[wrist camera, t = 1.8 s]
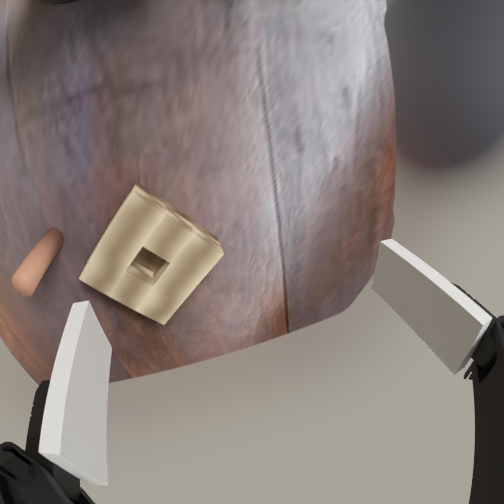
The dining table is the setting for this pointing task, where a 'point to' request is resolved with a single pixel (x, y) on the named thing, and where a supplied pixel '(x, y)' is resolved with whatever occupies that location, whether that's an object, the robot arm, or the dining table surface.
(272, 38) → the dining table surface
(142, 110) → the dining table surface
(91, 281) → the bore block
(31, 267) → the pin
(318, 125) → the dining table surface
